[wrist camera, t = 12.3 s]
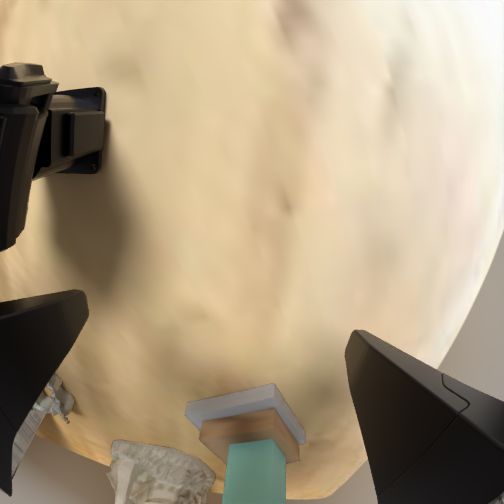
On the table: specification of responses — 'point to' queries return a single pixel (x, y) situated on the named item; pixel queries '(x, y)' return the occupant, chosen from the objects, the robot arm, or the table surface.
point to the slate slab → (245, 408)
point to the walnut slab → (249, 433)
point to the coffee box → (25, 436)
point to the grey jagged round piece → (157, 475)
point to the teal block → (255, 474)
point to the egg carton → (56, 399)
